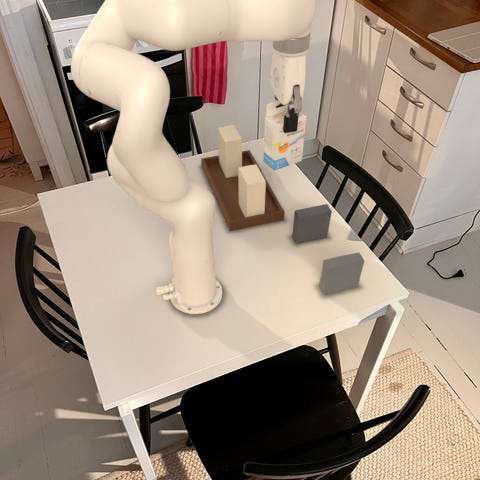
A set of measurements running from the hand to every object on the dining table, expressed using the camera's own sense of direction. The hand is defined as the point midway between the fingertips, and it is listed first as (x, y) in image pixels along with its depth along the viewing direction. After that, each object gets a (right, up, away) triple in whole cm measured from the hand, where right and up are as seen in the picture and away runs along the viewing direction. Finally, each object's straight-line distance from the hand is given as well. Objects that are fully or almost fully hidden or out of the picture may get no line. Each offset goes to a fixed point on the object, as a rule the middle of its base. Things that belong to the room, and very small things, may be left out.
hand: (285, 123), depth 116 cm
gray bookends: (+11, -30, +13) cm, 35 cm away
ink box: (0, -6, +8) cm, 10 cm away
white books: (-10, -8, +32) cm, 34 cm away
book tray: (-10, -8, +32) cm, 34 cm away
